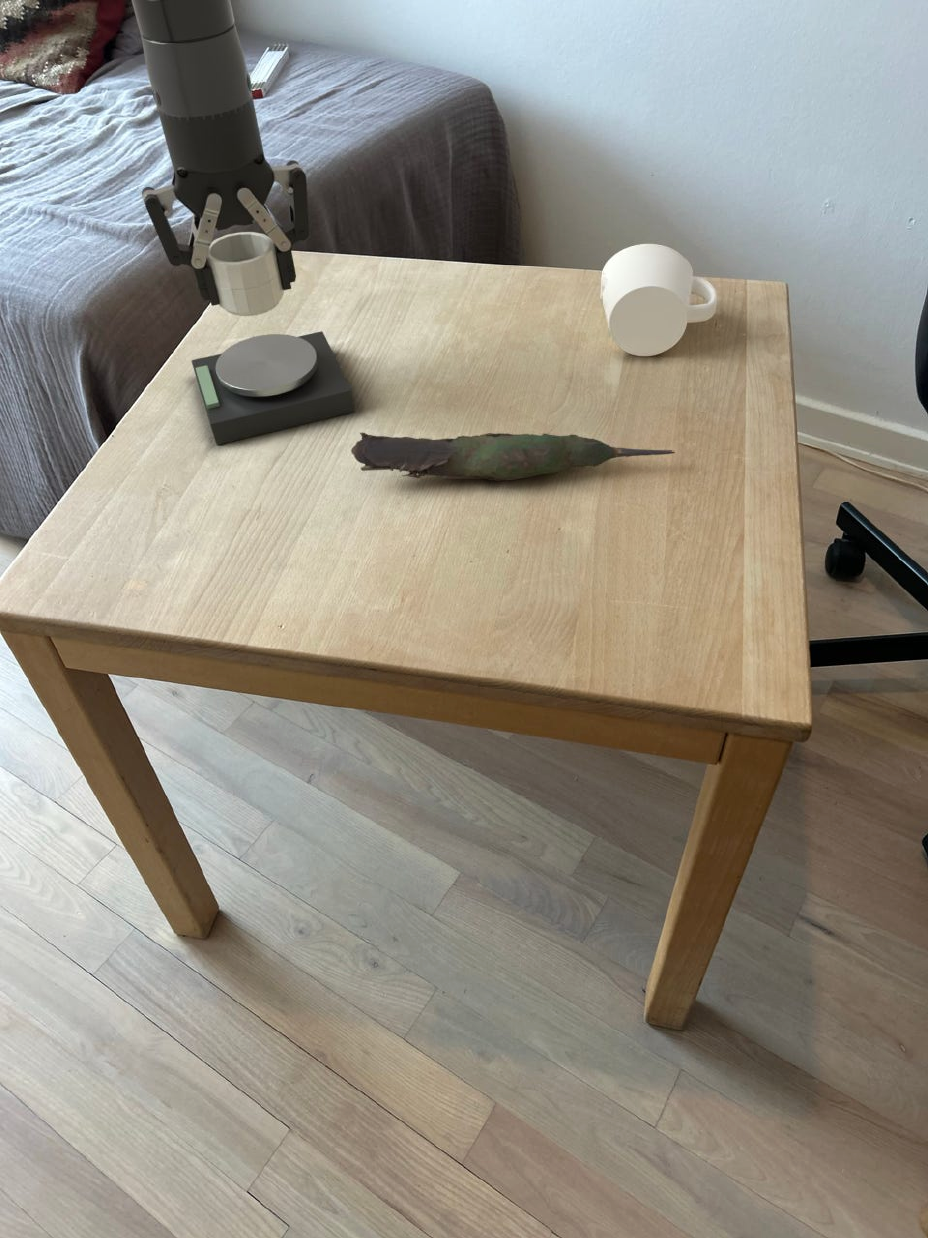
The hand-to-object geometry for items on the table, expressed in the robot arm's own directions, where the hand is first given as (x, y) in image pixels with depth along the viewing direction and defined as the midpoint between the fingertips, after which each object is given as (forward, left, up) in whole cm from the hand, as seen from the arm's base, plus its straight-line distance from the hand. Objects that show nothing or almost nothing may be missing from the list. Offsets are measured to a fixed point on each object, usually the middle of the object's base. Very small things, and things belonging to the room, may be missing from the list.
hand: (249, 293), depth 82 cm
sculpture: (+18, -21, -12) cm, 30 cm away
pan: (0, 0, -8) cm, 8 cm away
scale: (0, 0, -11) cm, 11 cm away
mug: (+41, -5, -11) cm, 43 cm away
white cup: (0, 0, -1) cm, 1 cm away
